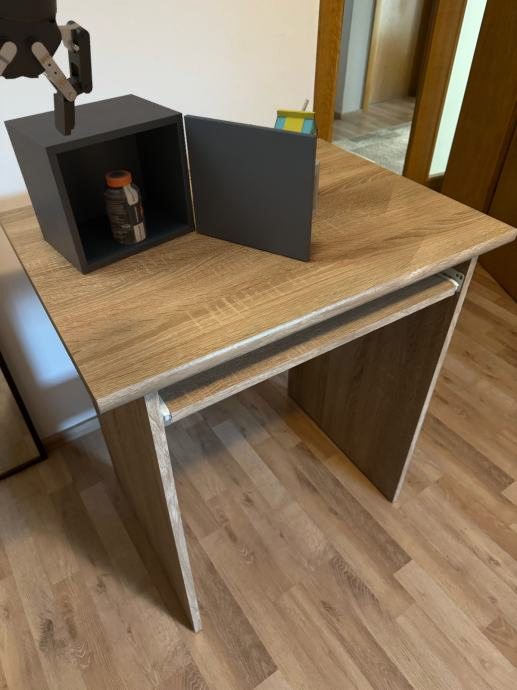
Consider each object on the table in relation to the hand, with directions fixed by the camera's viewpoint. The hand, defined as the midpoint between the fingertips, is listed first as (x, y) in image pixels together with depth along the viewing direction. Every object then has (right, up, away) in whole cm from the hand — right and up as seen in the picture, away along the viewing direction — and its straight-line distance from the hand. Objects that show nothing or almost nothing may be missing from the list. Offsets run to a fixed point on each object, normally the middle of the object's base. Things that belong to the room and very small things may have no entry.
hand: (24, 137), depth 50 cm
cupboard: (-1, -1, +39) cm, 39 cm away
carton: (+32, +8, +49) cm, 59 cm away
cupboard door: (+24, -3, +37) cm, 44 cm away
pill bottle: (+2, -3, +36) cm, 36 cm away
